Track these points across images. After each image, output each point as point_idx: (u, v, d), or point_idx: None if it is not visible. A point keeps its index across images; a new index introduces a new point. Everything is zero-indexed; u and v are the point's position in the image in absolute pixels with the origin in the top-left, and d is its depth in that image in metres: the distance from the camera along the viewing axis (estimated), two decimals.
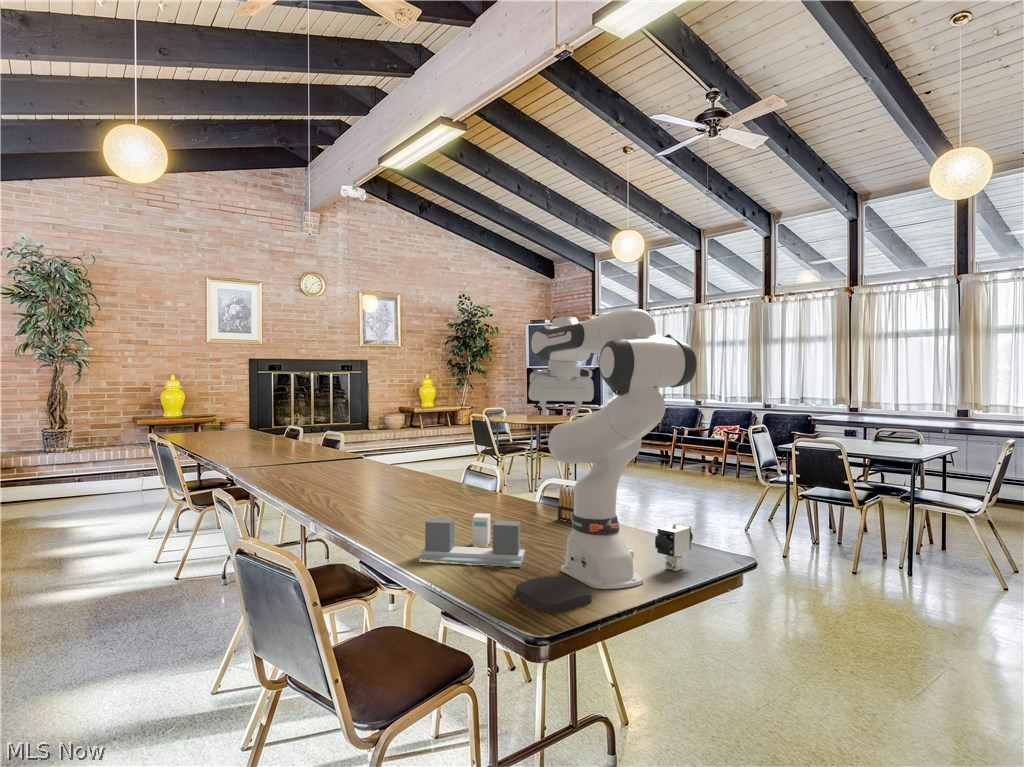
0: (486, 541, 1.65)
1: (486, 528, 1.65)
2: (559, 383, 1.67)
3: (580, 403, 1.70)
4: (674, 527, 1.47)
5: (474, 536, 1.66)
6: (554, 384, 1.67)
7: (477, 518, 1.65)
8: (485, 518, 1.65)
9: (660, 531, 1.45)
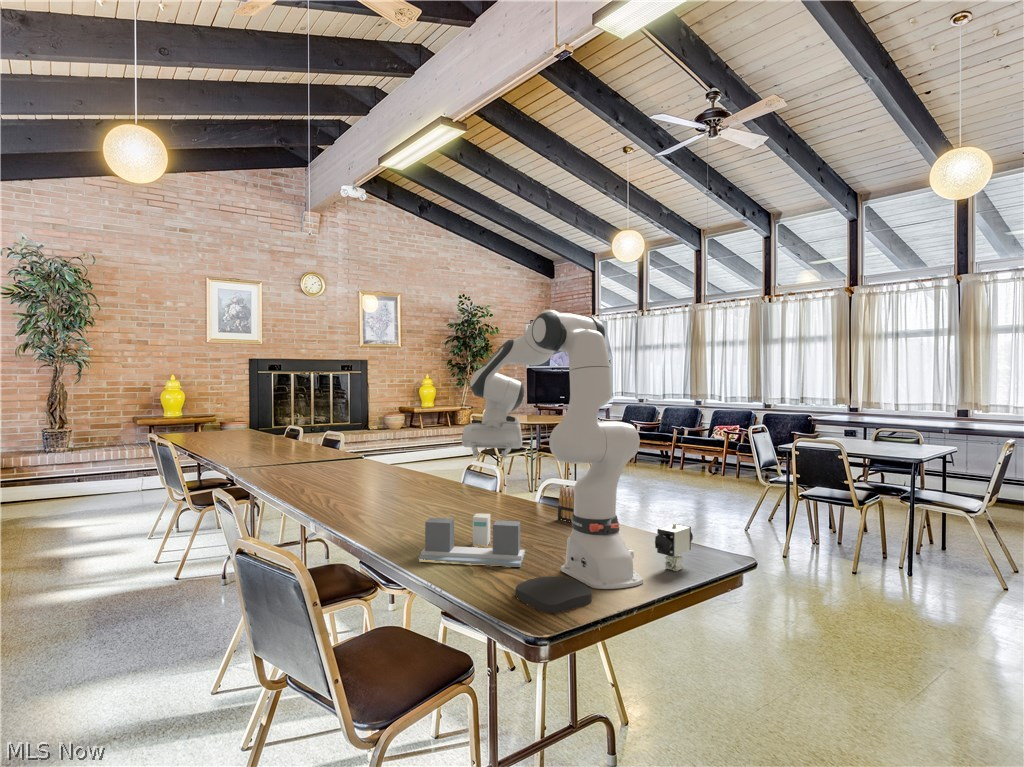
0: (486, 541, 1.65)
1: (486, 528, 1.65)
2: (488, 429, 1.86)
3: (508, 445, 1.81)
4: (674, 527, 1.47)
5: (474, 536, 1.66)
6: (484, 429, 1.86)
7: (477, 518, 1.65)
8: (485, 518, 1.65)
9: (660, 531, 1.45)
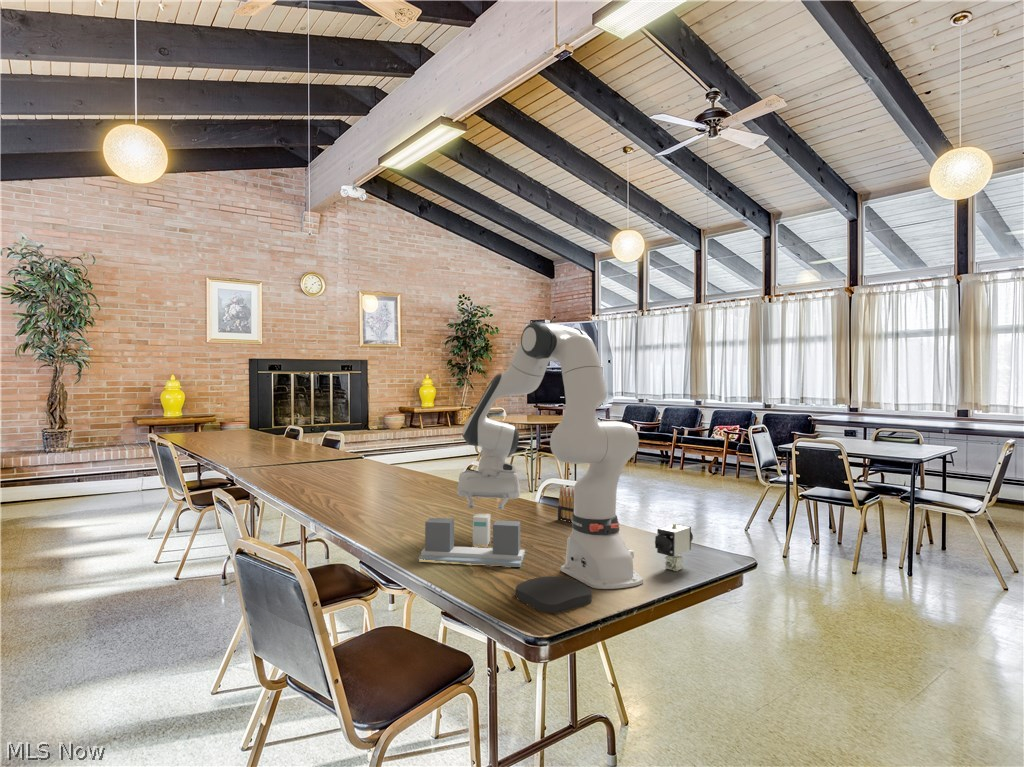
0: (486, 541, 1.65)
1: (486, 528, 1.65)
2: (484, 478, 1.80)
3: (505, 495, 1.75)
4: (674, 527, 1.47)
5: (474, 536, 1.66)
6: (480, 478, 1.80)
7: (477, 518, 1.65)
8: (485, 518, 1.65)
9: (660, 531, 1.45)
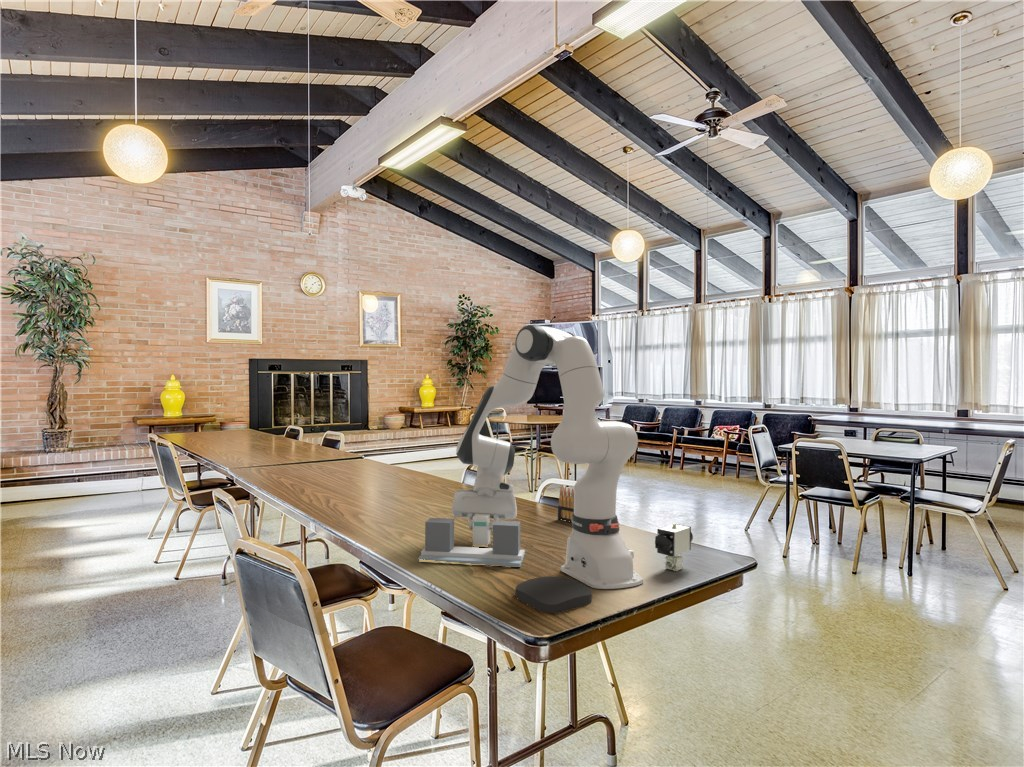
0: (486, 541, 1.65)
1: (486, 528, 1.65)
2: (480, 497, 1.73)
3: (496, 516, 1.69)
4: (674, 527, 1.47)
5: (474, 536, 1.66)
6: (475, 498, 1.73)
7: (477, 518, 1.65)
8: (485, 518, 1.65)
9: (660, 531, 1.45)
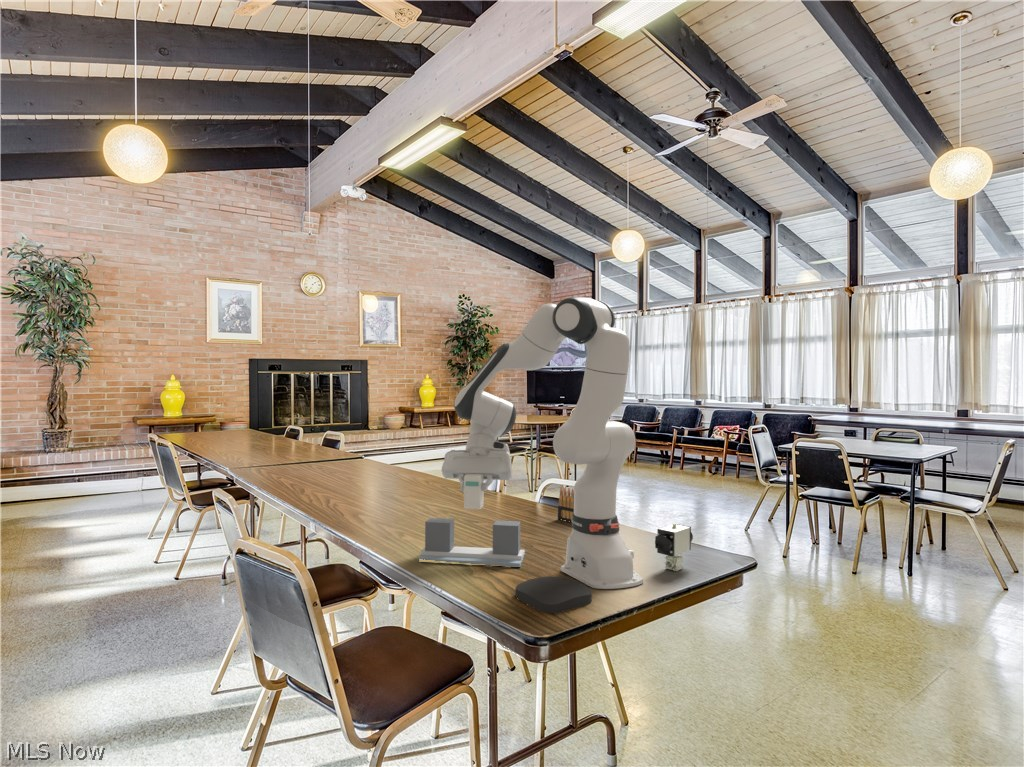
0: (479, 502, 1.52)
1: (479, 488, 1.52)
2: (473, 457, 1.61)
3: (489, 476, 1.56)
4: (674, 527, 1.47)
5: (466, 497, 1.53)
6: (467, 458, 1.61)
7: (469, 477, 1.53)
8: (477, 477, 1.53)
9: (660, 531, 1.45)
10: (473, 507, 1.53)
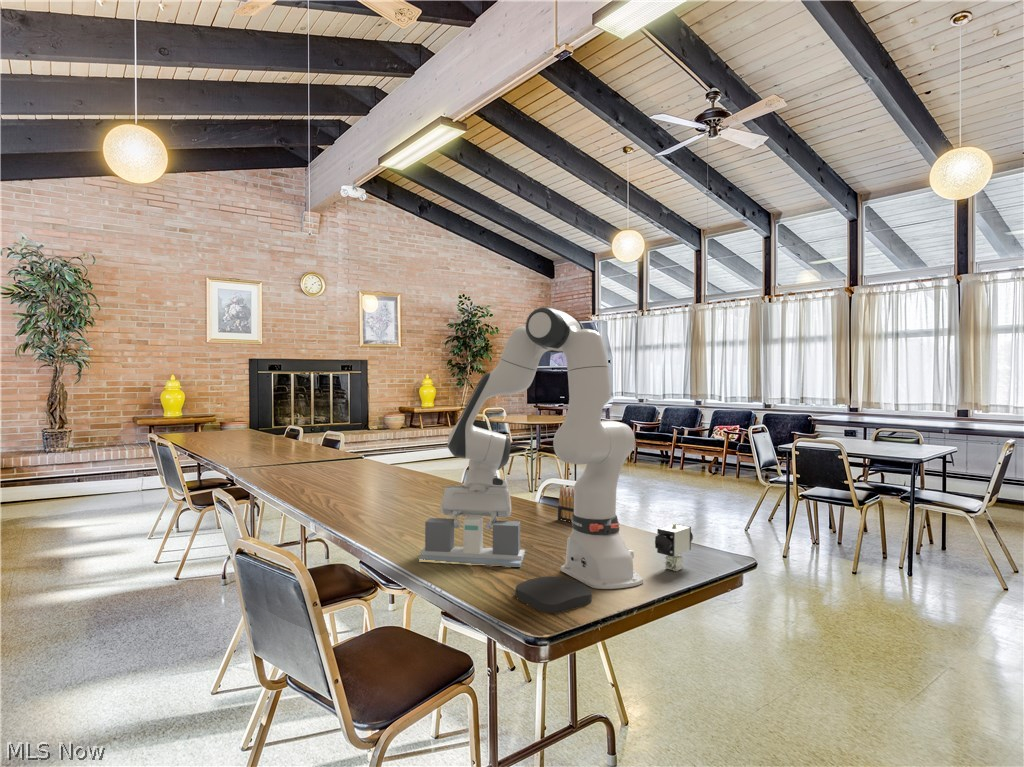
0: (478, 546, 1.52)
1: (478, 532, 1.52)
2: (472, 494, 1.60)
3: (494, 514, 1.56)
4: (674, 527, 1.47)
5: (465, 541, 1.53)
6: (466, 494, 1.60)
7: (468, 521, 1.53)
8: (477, 521, 1.52)
9: (660, 531, 1.45)
10: (472, 551, 1.52)
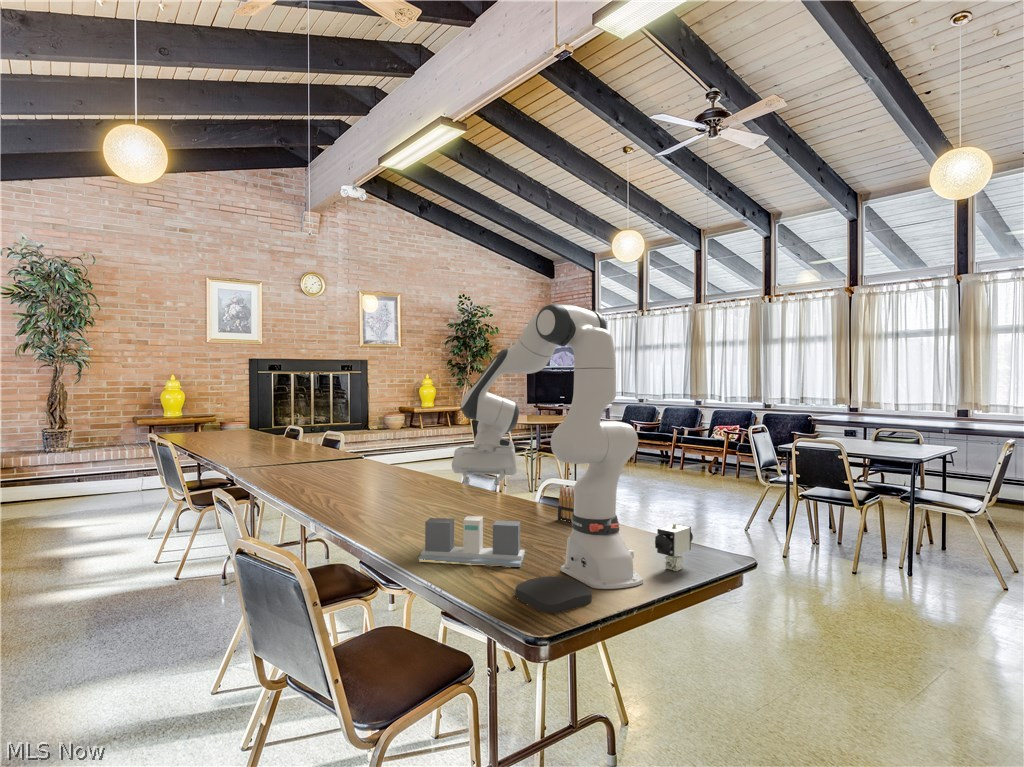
0: (478, 546, 1.52)
1: (478, 532, 1.52)
2: (480, 454, 1.73)
3: (502, 471, 1.68)
4: (674, 527, 1.47)
5: (465, 541, 1.53)
6: (475, 454, 1.73)
7: (468, 521, 1.53)
8: (477, 521, 1.52)
9: (660, 531, 1.45)
10: (472, 551, 1.52)
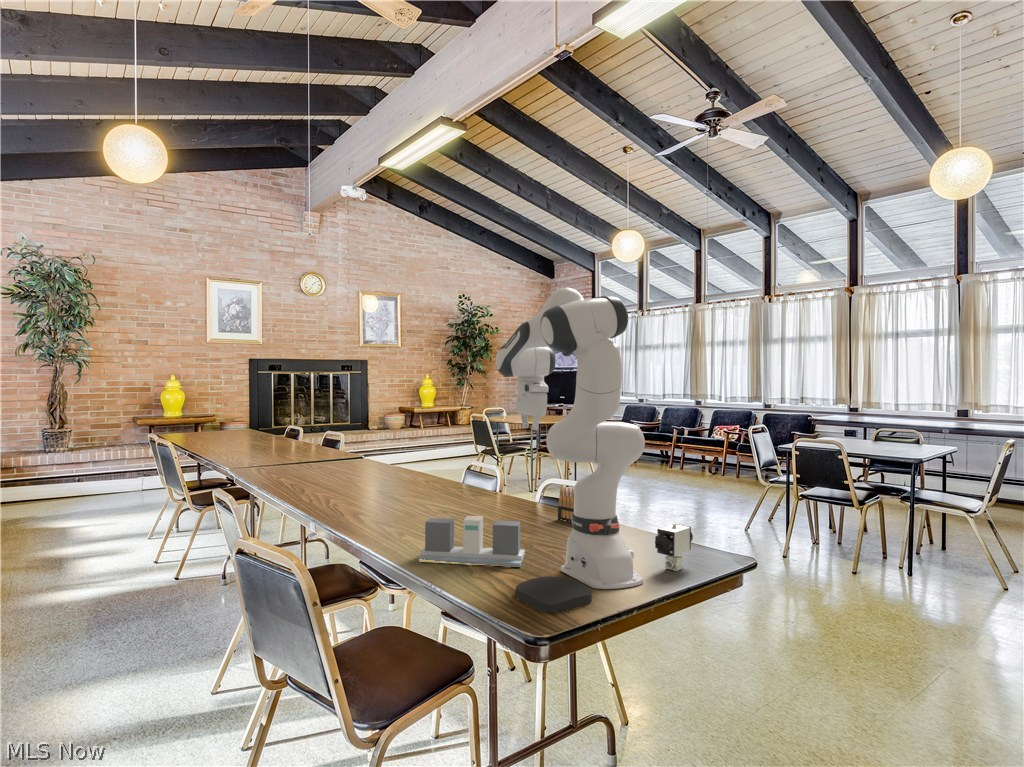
0: (478, 546, 1.52)
1: (478, 532, 1.52)
2: (524, 398, 1.83)
3: (533, 418, 1.76)
4: (674, 527, 1.47)
5: (465, 541, 1.53)
6: (523, 398, 1.85)
7: (468, 521, 1.53)
8: (477, 521, 1.52)
9: (660, 531, 1.45)
10: (472, 551, 1.52)
